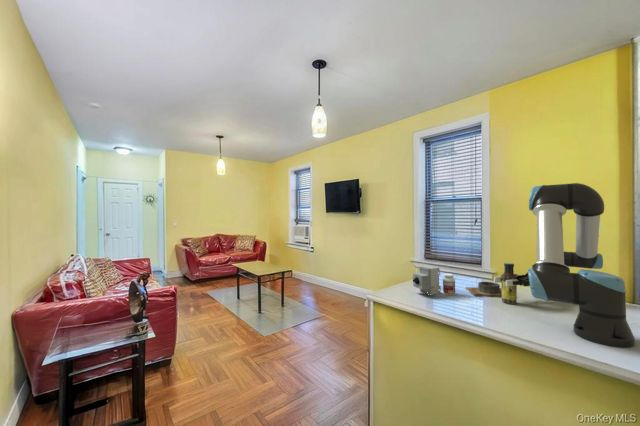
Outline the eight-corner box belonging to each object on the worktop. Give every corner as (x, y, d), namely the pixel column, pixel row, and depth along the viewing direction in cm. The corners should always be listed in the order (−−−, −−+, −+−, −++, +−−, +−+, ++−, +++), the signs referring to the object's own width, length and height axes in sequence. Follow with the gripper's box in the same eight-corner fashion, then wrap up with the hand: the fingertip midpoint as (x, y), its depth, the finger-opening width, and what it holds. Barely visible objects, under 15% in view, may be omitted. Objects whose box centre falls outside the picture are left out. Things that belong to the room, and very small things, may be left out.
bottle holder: (502, 290, 157) (502, 281, 157) (515, 297, 143) (515, 287, 143) (465, 289, 160) (465, 280, 160) (474, 296, 146) (474, 286, 146)
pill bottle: (447, 291, 156) (447, 272, 156) (457, 294, 150) (457, 274, 150) (440, 293, 153) (440, 274, 153) (450, 296, 147) (450, 276, 147)
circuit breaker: (411, 293, 154) (410, 267, 155) (431, 290, 159) (430, 265, 159) (419, 296, 147) (418, 269, 147) (440, 294, 152) (440, 267, 152)
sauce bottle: (511, 305, 131) (509, 264, 131) (498, 301, 137) (497, 262, 137) (520, 303, 133) (519, 263, 133) (507, 300, 139) (506, 261, 139)
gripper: (557, 290, 129) (518, 294, 124) (520, 281, 148) (484, 284, 143) (557, 275, 129) (517, 278, 124) (520, 267, 148) (484, 270, 143)
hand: (500, 281), depth 134 cm, fingers closed on sauce bottle, 6 cm apart
